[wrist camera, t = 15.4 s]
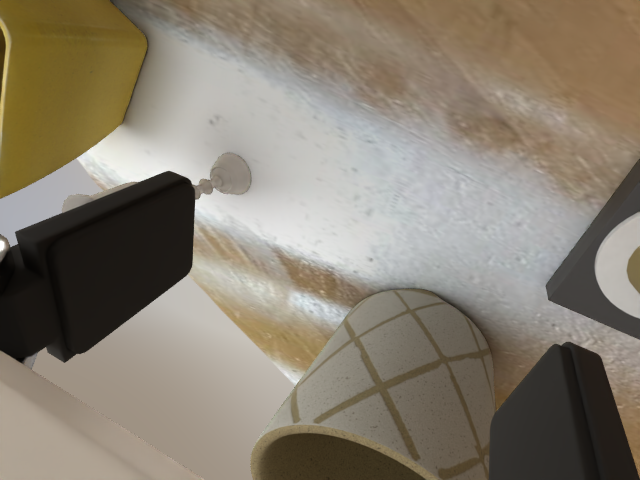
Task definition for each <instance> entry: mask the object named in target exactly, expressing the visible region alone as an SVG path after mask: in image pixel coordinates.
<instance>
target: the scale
mask: <svg viewBox="0 0 640 480" xmlns="http://www.w3.org/2000/svg"><path fill="white" fill-rule="evenodd" d="M639 246H640V159H639V160H638V162H637V163H636V164H635V166H634V167H633V169H632V170H631V171H630V173H629V174H628V175H627V177H626V178H625V179H624V181H623V182H622V183H621V185H620V186H619V187H618V189H617V190H616V191H615V193H614V194H613V196H612V197H611V198H610V200H609V201H608V202H607V204H606V205H605V206H604V208H603V209H602V210H601V212H600V213H599V214H598V216H597V217H596V218H595V220H594V221H593V223H592V224H591V225H590V227H589V228H588V229H587V231H586V232H585V233H584V235H583V236H582V237H581V239H580V240H579V241H578V243H577V244H576V245H575V247H574V248H573V250H572V251H571V252H570V254H569V255H568V256H567V258H566V259H565V260H564V262H563V263H562V264H561V266H560V267H559V268H558V270H557V271H556V272H555V274H554V275H553V277H552V278H551V279H550V281H549V282H548V283H547V285H546V289H547V295H548V300H549V301H552V302H554V303H556V304H559V305H561V306H563V307H566V308H568V309H570V310H573V311H575V312H577V313H579V314H582V315H584V316H586V317H589V318H591V319H593V320H596V321H598V322H600V323H603V324H605V325H607V326H610V327H612V328H614V329H617V330H619V331H621V332H623V333H626V334H628V335H630V336H633V337H635V338H637V339H640V294H639V293H638V292H637V290H636V289H635V288H634V287H633V285H632V284H631V283H630V282H629V279H628V275H627V271H626V270H627V265H628V260H629V258H630V257H631V255H632V254H633V252H634V251H635V249H637V248H638V247H639Z"/></svg>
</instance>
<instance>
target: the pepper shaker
mask: <svg viewBox="0 0 640 480" xmlns="http://www.w3.org/2000/svg"><path fill="white" fill-rule="evenodd" d="M626 271H627V275H628V279H629V282H630V283H631V284H632V285H633V287H634V288H635V289H636V290H637V292H638V293H639V294H640V246H639V247H638V248H637V249H635V251H634V252H633V254H632V255H631V257H630V258H629V260H628V265H627V270H626Z"/></svg>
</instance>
